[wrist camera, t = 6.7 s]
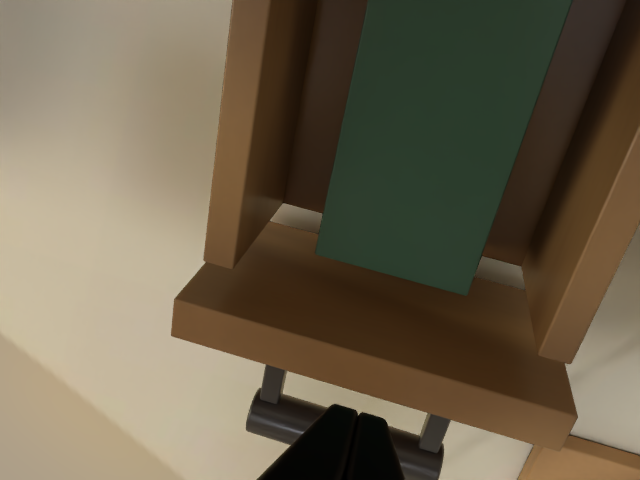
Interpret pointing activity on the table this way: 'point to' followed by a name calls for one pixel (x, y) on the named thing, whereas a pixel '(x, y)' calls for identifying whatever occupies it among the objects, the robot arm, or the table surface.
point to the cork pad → (580, 463)
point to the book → (434, 132)
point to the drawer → (397, 293)
